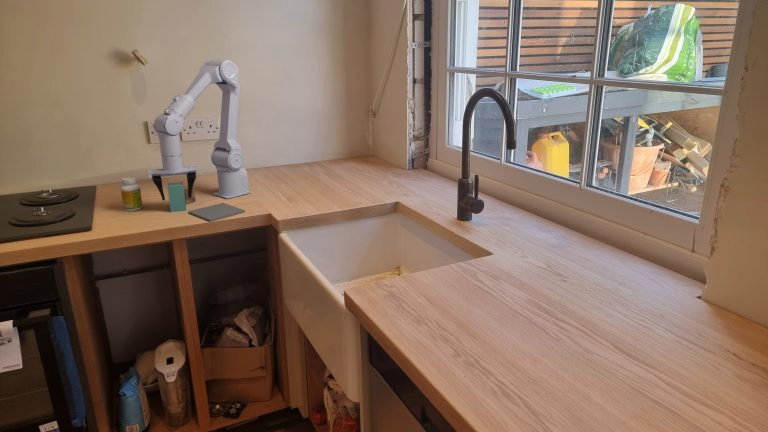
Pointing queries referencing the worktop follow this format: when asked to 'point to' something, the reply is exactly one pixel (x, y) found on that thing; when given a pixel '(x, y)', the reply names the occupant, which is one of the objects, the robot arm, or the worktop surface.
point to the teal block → (176, 197)
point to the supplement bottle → (131, 194)
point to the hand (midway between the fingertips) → (176, 198)
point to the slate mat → (216, 212)
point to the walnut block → (187, 199)
